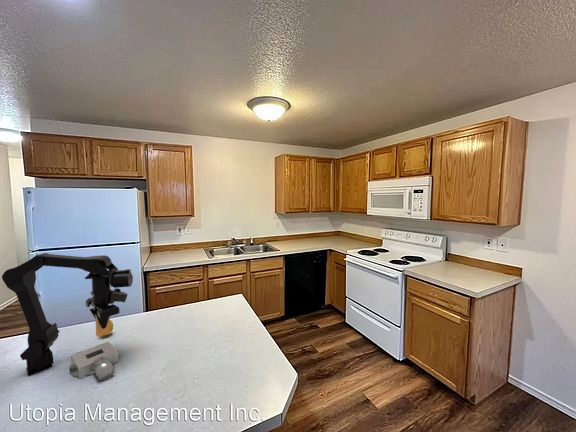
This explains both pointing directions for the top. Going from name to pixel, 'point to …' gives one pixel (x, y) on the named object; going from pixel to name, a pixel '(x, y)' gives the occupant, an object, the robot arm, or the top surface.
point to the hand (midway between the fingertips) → (102, 327)
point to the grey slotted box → (95, 362)
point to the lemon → (110, 327)
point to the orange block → (102, 331)
